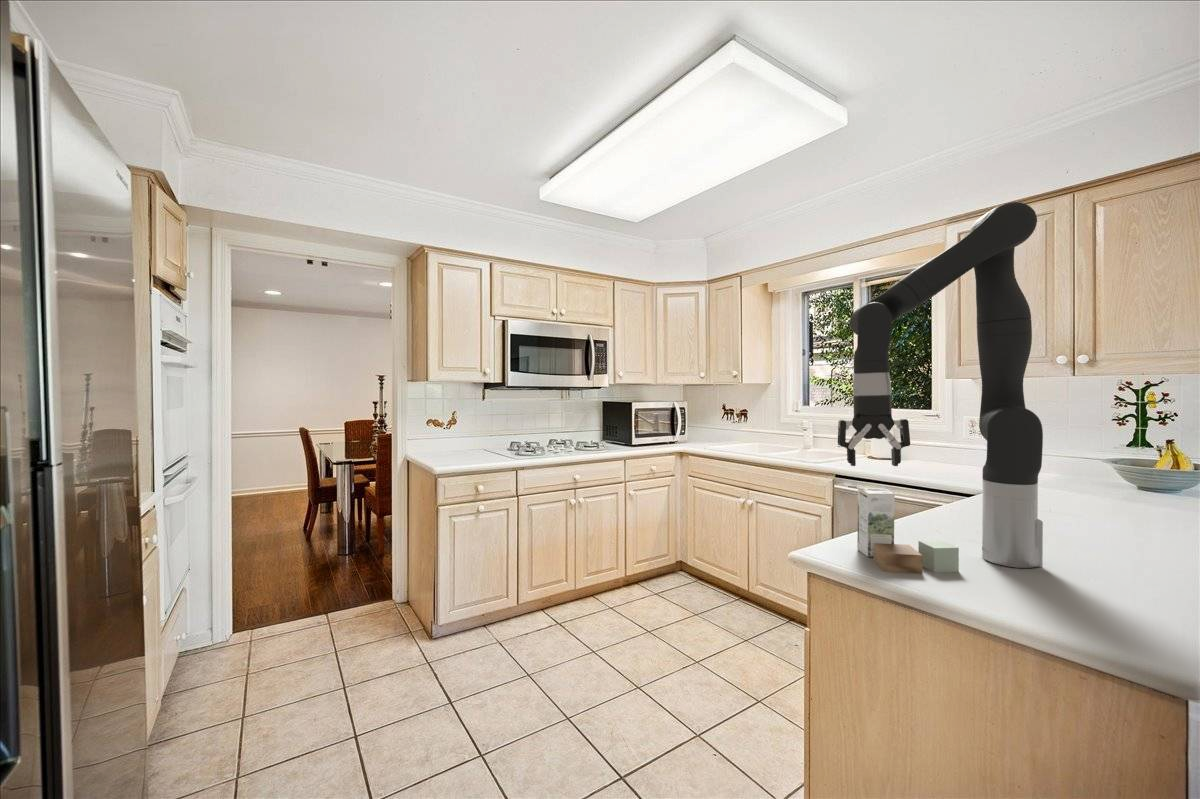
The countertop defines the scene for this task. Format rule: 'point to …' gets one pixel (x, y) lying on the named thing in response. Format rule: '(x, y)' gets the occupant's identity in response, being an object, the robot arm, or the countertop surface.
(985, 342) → the robot arm
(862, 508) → the syrup box
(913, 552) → the walnut block
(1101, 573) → the countertop surface
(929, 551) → the grey-green cube
